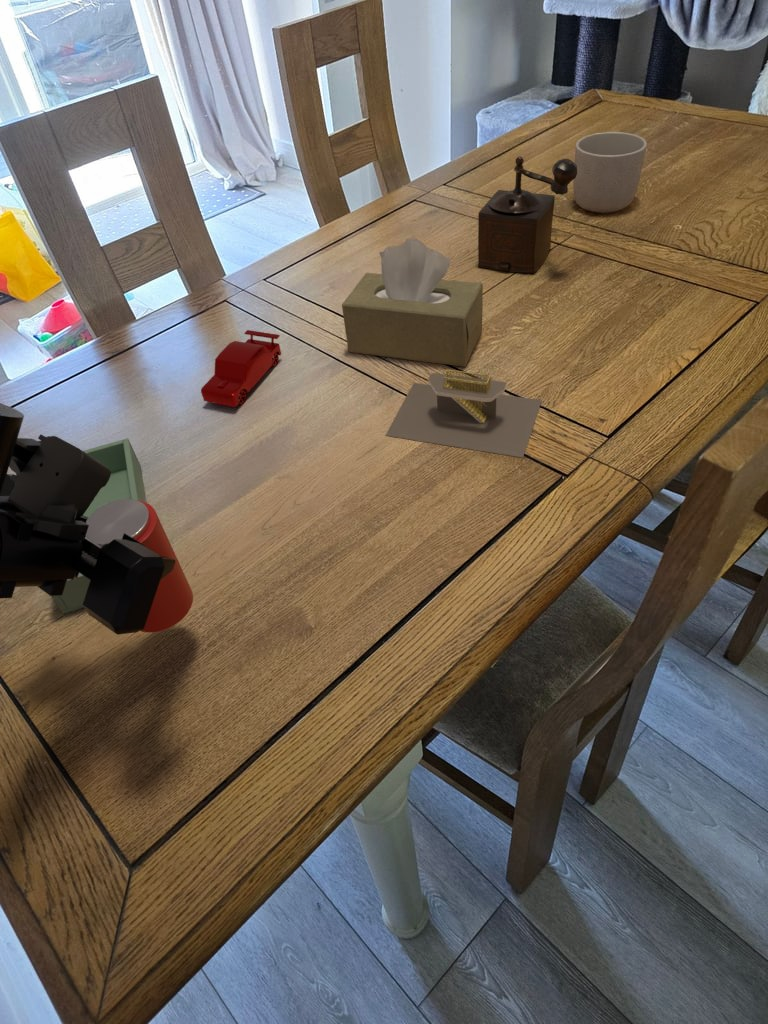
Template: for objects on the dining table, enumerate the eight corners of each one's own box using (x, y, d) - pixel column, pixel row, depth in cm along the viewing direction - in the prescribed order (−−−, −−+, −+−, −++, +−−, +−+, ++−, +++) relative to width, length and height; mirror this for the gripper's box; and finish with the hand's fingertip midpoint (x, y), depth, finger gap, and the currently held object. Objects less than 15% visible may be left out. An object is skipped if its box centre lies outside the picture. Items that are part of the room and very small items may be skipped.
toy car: (253, 352, 107) (246, 324, 104) (285, 358, 105) (278, 329, 102) (204, 406, 99) (194, 377, 95) (237, 412, 97) (229, 383, 93)
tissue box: (484, 332, 106) (485, 229, 94) (467, 368, 99) (466, 262, 88) (369, 319, 111) (357, 220, 100) (346, 352, 105) (331, 251, 94)
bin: (63, 614, 74) (45, 587, 71) (59, 488, 89) (43, 461, 85) (160, 583, 76) (146, 555, 73) (140, 465, 91) (128, 437, 87)
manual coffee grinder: (474, 269, 120) (474, 158, 107) (495, 241, 126) (498, 134, 114) (563, 281, 114) (575, 166, 101) (580, 251, 121) (593, 139, 108)
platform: (523, 457, 85) (526, 415, 80) (385, 435, 90) (380, 394, 86) (541, 400, 93) (545, 358, 88) (413, 382, 98) (411, 342, 93)
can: (146, 644, 63) (98, 562, 55) (114, 605, 67) (64, 522, 58) (206, 603, 66) (168, 519, 58) (171, 568, 69) (132, 484, 61)
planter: (648, 211, 130) (659, 148, 122) (585, 222, 128) (593, 160, 121) (618, 187, 138) (627, 127, 130) (559, 198, 137) (565, 138, 129)
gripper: (93, 486, 43) (252, 504, 57) (-61, 399, 52) (110, 433, 66) (41, 648, 45) (209, 627, 58) (-100, 537, 53) (75, 541, 67)
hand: (148, 550), depth 62 cm, fingers closed on can, 6 cm apart
